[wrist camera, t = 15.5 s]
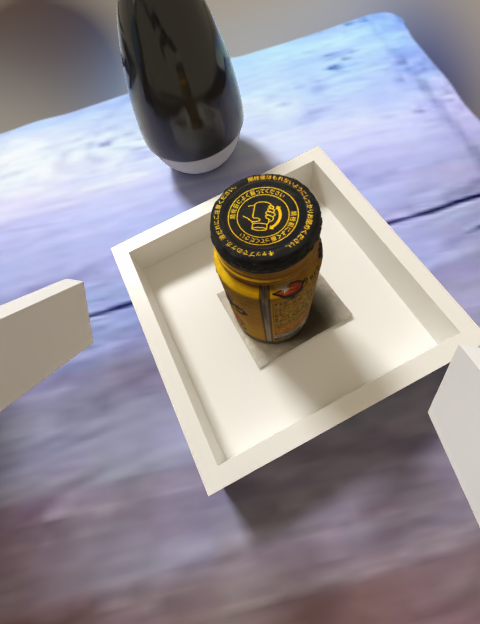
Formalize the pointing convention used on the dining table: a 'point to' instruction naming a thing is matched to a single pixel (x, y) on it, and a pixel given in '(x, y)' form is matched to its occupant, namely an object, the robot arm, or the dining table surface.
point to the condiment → (272, 264)
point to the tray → (302, 359)
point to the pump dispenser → (180, 82)
